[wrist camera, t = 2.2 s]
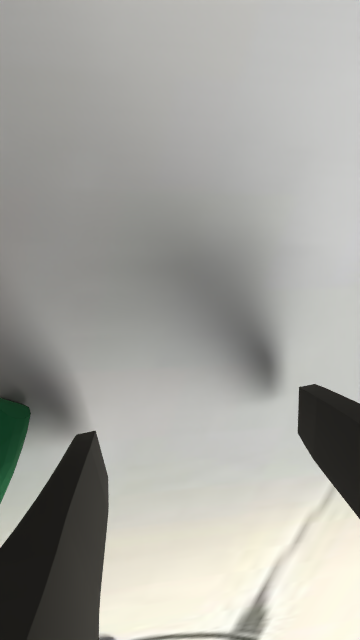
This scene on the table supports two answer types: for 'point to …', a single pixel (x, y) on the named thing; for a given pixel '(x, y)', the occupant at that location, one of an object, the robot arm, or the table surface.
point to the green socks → (11, 439)
